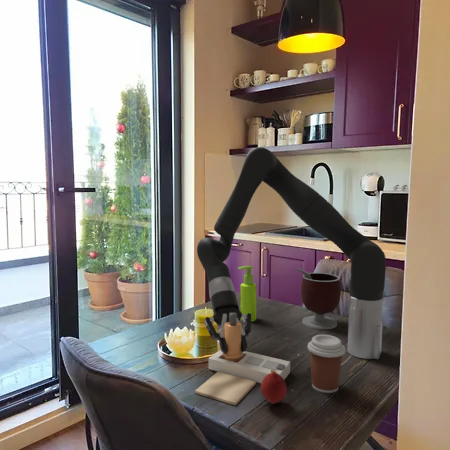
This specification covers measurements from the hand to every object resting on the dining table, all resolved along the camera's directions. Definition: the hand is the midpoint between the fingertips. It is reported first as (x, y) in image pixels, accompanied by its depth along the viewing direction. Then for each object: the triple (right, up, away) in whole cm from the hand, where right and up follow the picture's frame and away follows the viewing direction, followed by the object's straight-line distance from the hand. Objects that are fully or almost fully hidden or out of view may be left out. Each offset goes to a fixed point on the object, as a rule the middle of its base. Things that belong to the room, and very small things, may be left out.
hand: (235, 351), depth 105 cm
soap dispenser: (+5, -1, +40) cm, 40 cm away
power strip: (+4, -5, 0) cm, 6 cm away
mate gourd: (+31, -2, +36) cm, 48 cm away
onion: (+8, -7, -15) cm, 19 cm away
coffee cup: (+22, -6, -8) cm, 24 cm away
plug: (-1, -5, +2) cm, 6 cm away
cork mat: (-2, -6, -9) cm, 11 cm away
